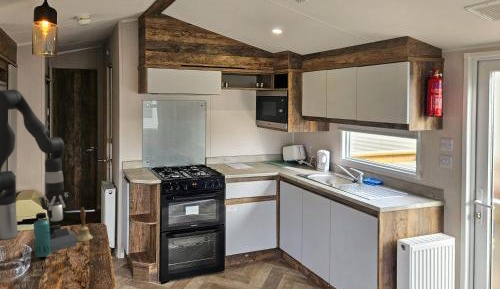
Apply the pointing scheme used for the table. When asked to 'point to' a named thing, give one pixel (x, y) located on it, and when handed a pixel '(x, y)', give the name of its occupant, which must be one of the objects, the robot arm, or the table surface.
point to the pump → (57, 212)
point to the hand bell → (83, 228)
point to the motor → (61, 238)
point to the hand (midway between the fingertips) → (56, 216)
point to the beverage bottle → (42, 236)
